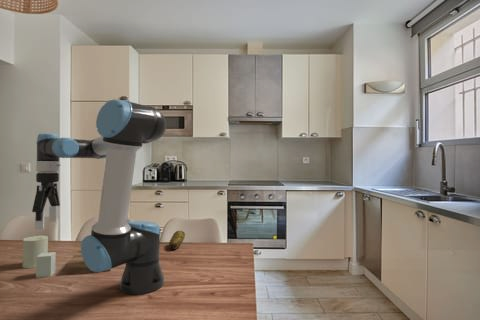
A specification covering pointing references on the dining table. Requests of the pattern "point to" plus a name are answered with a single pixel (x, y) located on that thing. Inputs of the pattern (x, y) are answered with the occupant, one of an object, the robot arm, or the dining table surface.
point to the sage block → (45, 264)
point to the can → (33, 249)
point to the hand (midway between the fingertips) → (46, 225)
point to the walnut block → (78, 265)
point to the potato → (176, 239)
